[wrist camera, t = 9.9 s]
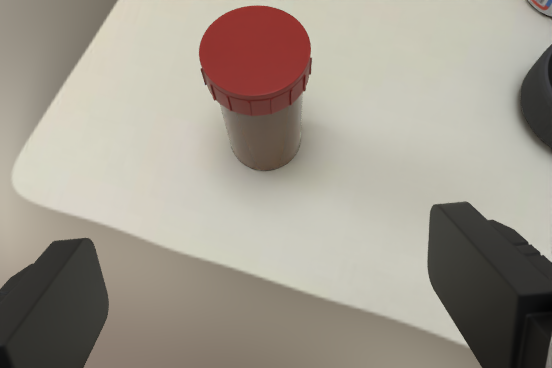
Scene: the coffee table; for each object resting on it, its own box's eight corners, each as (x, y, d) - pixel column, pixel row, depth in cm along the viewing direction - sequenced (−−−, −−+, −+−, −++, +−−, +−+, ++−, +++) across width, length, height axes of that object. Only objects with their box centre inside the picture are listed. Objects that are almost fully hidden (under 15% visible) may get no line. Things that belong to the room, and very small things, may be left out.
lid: (321, 42, 25) (323, 17, 23) (293, 128, 23) (293, 108, 21) (225, 21, 25) (220, -5, 24) (189, 102, 23) (181, 81, 22)
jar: (230, 172, 31) (205, 92, 22) (231, 109, 33) (208, 13, 24) (302, 169, 31) (306, 88, 22) (298, 107, 33) (302, 9, 24)
